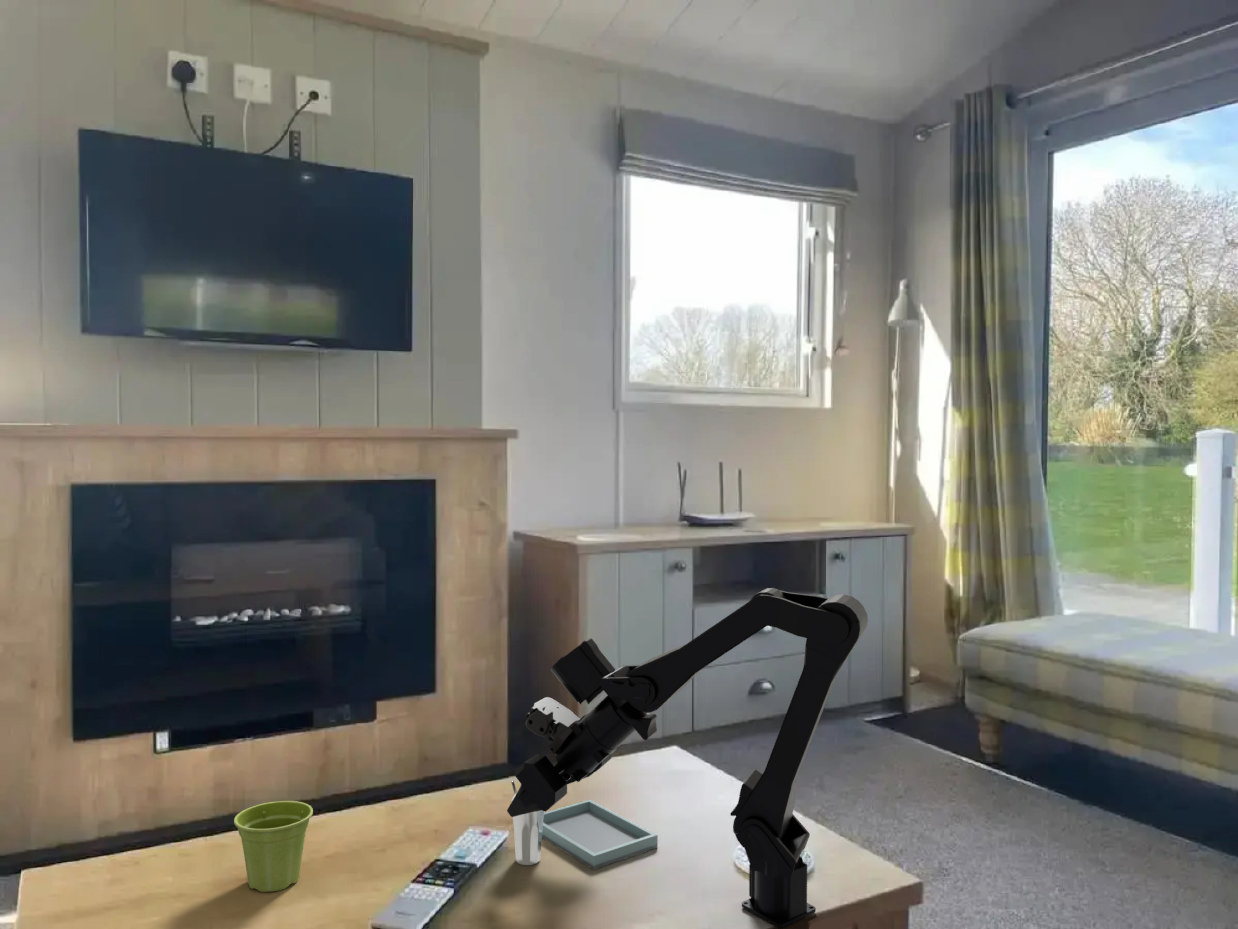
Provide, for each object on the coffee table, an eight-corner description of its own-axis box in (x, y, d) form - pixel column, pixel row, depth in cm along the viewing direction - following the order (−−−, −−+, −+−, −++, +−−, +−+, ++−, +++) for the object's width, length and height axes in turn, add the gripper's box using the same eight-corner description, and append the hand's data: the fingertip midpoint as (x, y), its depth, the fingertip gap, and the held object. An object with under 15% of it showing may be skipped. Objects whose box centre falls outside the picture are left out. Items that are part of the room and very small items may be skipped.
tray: (657, 847, 128) (657, 835, 128) (593, 869, 121) (593, 856, 121) (589, 811, 140) (589, 799, 140) (528, 829, 134) (528, 817, 134)
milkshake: (523, 848, 127) (524, 776, 127) (551, 859, 124) (552, 785, 124) (499, 859, 124) (500, 785, 124) (528, 871, 121) (528, 795, 120)
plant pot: (235, 871, 120) (235, 805, 120) (311, 860, 123) (311, 796, 123) (232, 905, 111) (232, 834, 111) (314, 892, 115) (314, 823, 114)
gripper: (592, 666, 130) (522, 733, 135) (529, 700, 113) (452, 775, 117) (643, 729, 127) (570, 795, 132) (587, 773, 110) (505, 848, 114)
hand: (526, 801), depth 124 cm, fingers open, 9 cm apart
